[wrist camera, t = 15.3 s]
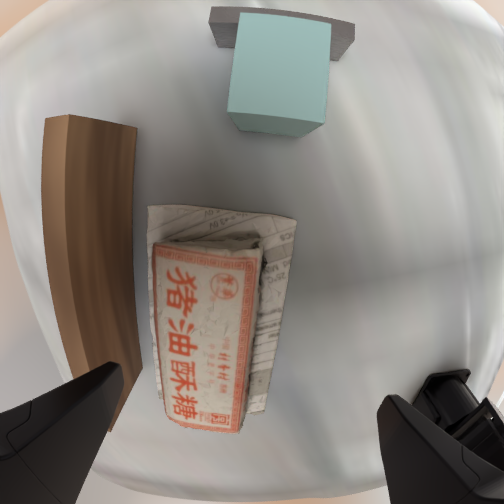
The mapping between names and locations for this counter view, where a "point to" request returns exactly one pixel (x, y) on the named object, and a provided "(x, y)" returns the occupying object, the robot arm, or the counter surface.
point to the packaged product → (215, 310)
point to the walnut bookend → (91, 242)
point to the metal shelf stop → (228, 17)
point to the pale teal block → (279, 74)
